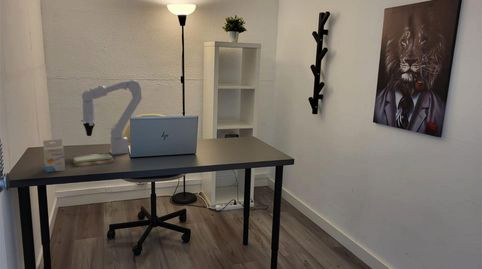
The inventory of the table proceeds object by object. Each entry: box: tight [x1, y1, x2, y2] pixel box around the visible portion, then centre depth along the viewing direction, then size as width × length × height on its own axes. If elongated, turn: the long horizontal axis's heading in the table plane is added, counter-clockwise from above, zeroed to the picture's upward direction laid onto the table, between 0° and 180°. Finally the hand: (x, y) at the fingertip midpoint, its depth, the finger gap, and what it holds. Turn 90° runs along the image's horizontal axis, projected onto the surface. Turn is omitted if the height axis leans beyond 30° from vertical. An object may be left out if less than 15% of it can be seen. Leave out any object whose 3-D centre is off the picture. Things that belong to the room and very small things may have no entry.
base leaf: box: [72, 152, 114, 167], centre depth 191 cm, size 18×11×3 cm, turn 123°
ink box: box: [43, 138, 66, 173], centre depth 174 cm, size 8×5×15 cm, turn 123°
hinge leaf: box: [73, 153, 114, 163], centre depth 192 cm, size 18×10×2 cm, turn 123°
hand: (89, 135), depth 204 cm, fingers closed
